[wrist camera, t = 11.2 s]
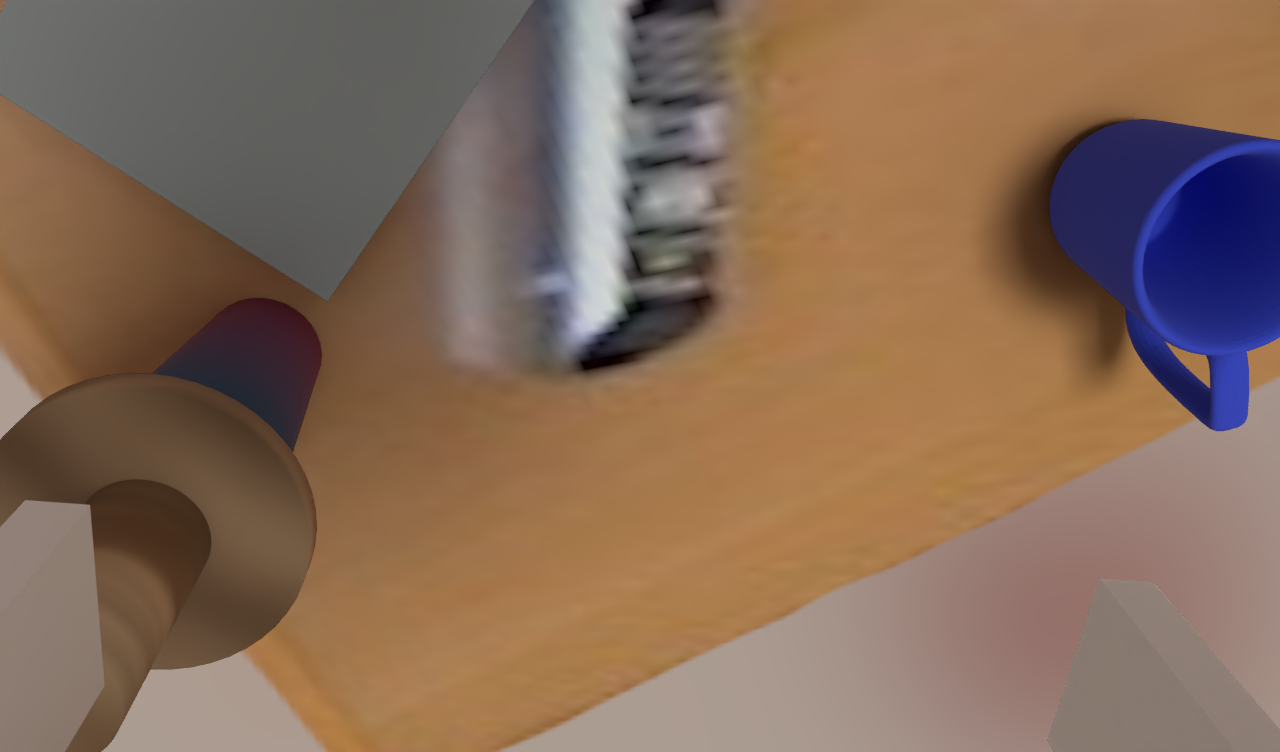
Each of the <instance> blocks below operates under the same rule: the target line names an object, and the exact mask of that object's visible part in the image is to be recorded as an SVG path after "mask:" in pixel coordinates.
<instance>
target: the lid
mask: <svg viewBox="0 0 1280 752" xmlns="http://www.w3.org/2000/svg"><path fill="white" fill-rule="evenodd" d="M25 500H31V501H45V502H59V503H72V504H86V505H90V511H91V523H92V536H93V548H94V560H95V573H96V585H97V597H98V610H99V622H100V635H101V647H102V659H103V672H104V684H105V686H104V688H103V689H102V691H101V693H100V694H99V696H98V698H97V699H96V701H95V703H94V704H93V706H92V708H91V709H90V711H89V713H88V714H87V716H86V718H85V719H84V721H83V723H82V724H81V726H80V727H79V729H78V731H77V732H76V734H75V736H74V737H73V739H72V741H71V742H70V744H69V746H68V747H67V749H66V751H65V752H101V751H102V750H104V749H105V748H106V747H107V746H108V745H109V744H110V742H111V741H112V740H113V739H114V737H115V735H116V734H117V732H118V730H119V728H120V726H121V724H122V722H123V721H124V719H125V717H126V715H127V713H128V711H129V709H130V707H131V705H132V703H133V701H134V700H135V698H136V696H137V694H138V692H139V690H140V688H141V686H142V684H143V682H144V681H145V679H146V677H147V675H148V673H149V671H150V669H179V668H188V667H195V666H199V665H204V664H208V663H212V662H215V661H218V660H221V659H224V658H227V657H230V656H232V655H234V654H236V653H238V652H240V651H242V650H244V649H246V648H248V647H249V646H251V645H252V644H254V643H255V642H257V641H258V640H260V639H261V638H263V637H264V636H265V635H266V634H267V633H268V632H270V631H271V630H272V629H273V628H274V627H275V626H276V625H277V624H278V623H279V622H280V621H281V619H282V618H283V617H284V616H285V615H286V614H287V612H288V611H289V609H290V608H291V606H292V604H293V603H294V601H295V600H296V598H297V596H298V594H299V591H300V589H301V587H302V584H303V582H304V579H305V577H306V574H307V571H308V568H309V566H310V563H311V559H312V555H313V552H314V548H315V541H316V531H317V523H316V509H315V504H314V499H313V495H312V491H311V488H310V486H309V483H308V480H307V477H306V475H305V473H304V471H303V469H302V467H301V465H300V463H299V462H298V460H297V458H296V456H295V455H294V454H293V452H292V451H291V449H290V448H289V447H288V445H287V444H286V442H285V441H284V440H283V439H282V438H281V437H280V436H279V435H278V434H277V432H276V431H275V430H274V429H273V428H272V427H271V426H270V425H269V424H267V423H266V422H265V421H264V420H263V419H262V418H260V417H259V416H258V415H257V414H256V413H254V412H253V411H251V410H250V409H248V408H247V407H245V406H244V405H242V404H241V403H240V402H238V401H236V400H234V399H233V398H231V397H229V396H227V395H225V394H223V393H221V392H219V391H217V390H214V389H212V388H209V387H207V386H204V385H201V384H199V383H196V382H192V381H188V380H184V379H181V378H177V377H172V376H164V375H157V374H143V373H126V374H115V375H106V376H102V377H97V378H93V379H88V380H85V381H82V382H79V383H76V384H74V385H71V386H68V387H66V388H64V389H62V390H60V391H58V392H56V393H54V394H52V395H50V396H49V397H47V398H46V399H44V400H43V401H42V402H40V403H39V404H38V405H36V406H35V407H33V408H32V409H31V410H30V411H29V412H28V413H27V414H26V415H25V416H24V417H23V418H22V419H21V420H20V421H19V422H17V423H16V425H14V426H13V428H11V429H10V430H9V431H8V432H7V433H6V434H5V435H4V436H3V437H2V438H1V440H0V527H1V526H2V525H3V524H4V522H5V521H6V520H7V519H8V518H9V517H10V516H11V515H12V514H13V513H14V512H15V511H16V510H17V508H18V507H19V506H20V505H21V504H22V503H23V502H24V501H25Z"/></svg>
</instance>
